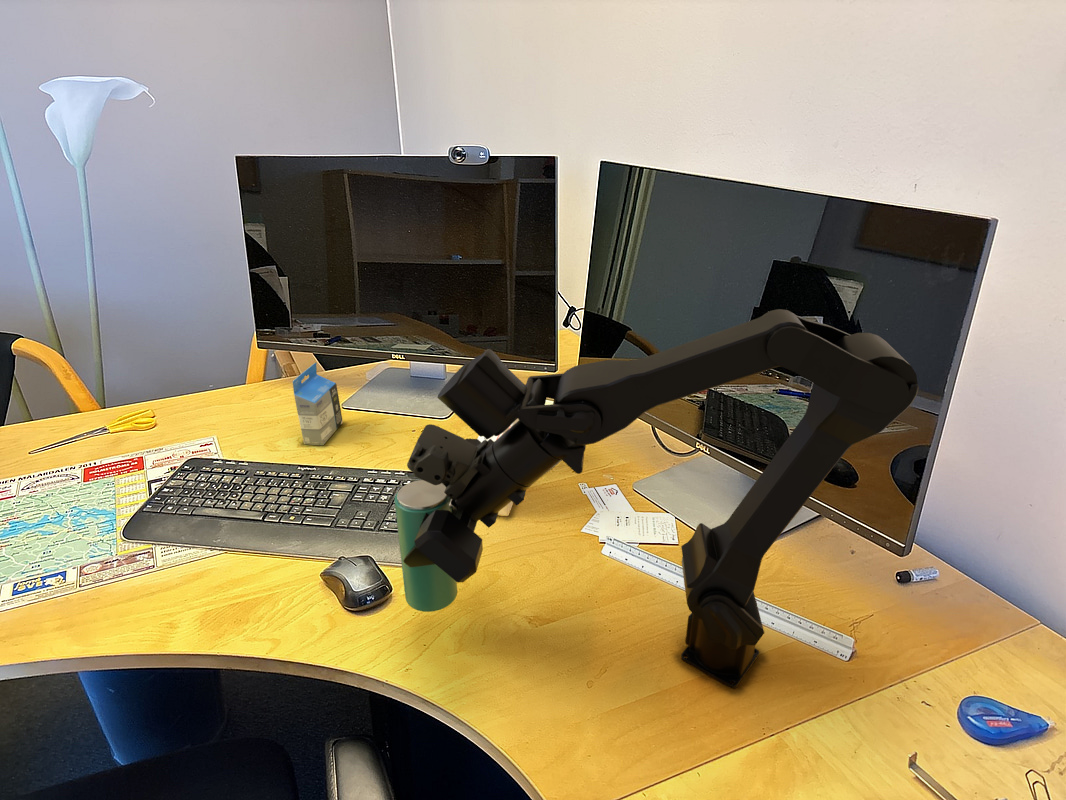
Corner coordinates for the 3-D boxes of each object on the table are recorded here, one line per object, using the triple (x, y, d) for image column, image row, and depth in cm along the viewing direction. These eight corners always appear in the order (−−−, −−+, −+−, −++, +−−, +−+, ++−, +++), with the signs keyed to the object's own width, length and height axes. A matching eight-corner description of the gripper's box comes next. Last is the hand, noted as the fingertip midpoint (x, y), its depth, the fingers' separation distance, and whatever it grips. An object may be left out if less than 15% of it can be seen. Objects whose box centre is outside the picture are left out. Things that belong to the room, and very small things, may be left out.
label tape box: (323, 446, 118) (313, 382, 113) (301, 444, 119) (290, 380, 113) (343, 423, 126) (335, 362, 121) (323, 422, 126) (314, 361, 121)
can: (468, 591, 76) (462, 491, 70) (429, 620, 72) (419, 515, 66) (433, 569, 79) (424, 472, 73) (394, 595, 75) (382, 495, 69)
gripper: (473, 371, 74) (385, 454, 79) (429, 457, 57) (322, 553, 63) (544, 438, 76) (454, 513, 82) (523, 539, 59) (412, 624, 65)
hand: (414, 545), depth 73 cm, fingers closed on can, 6 cm apart
